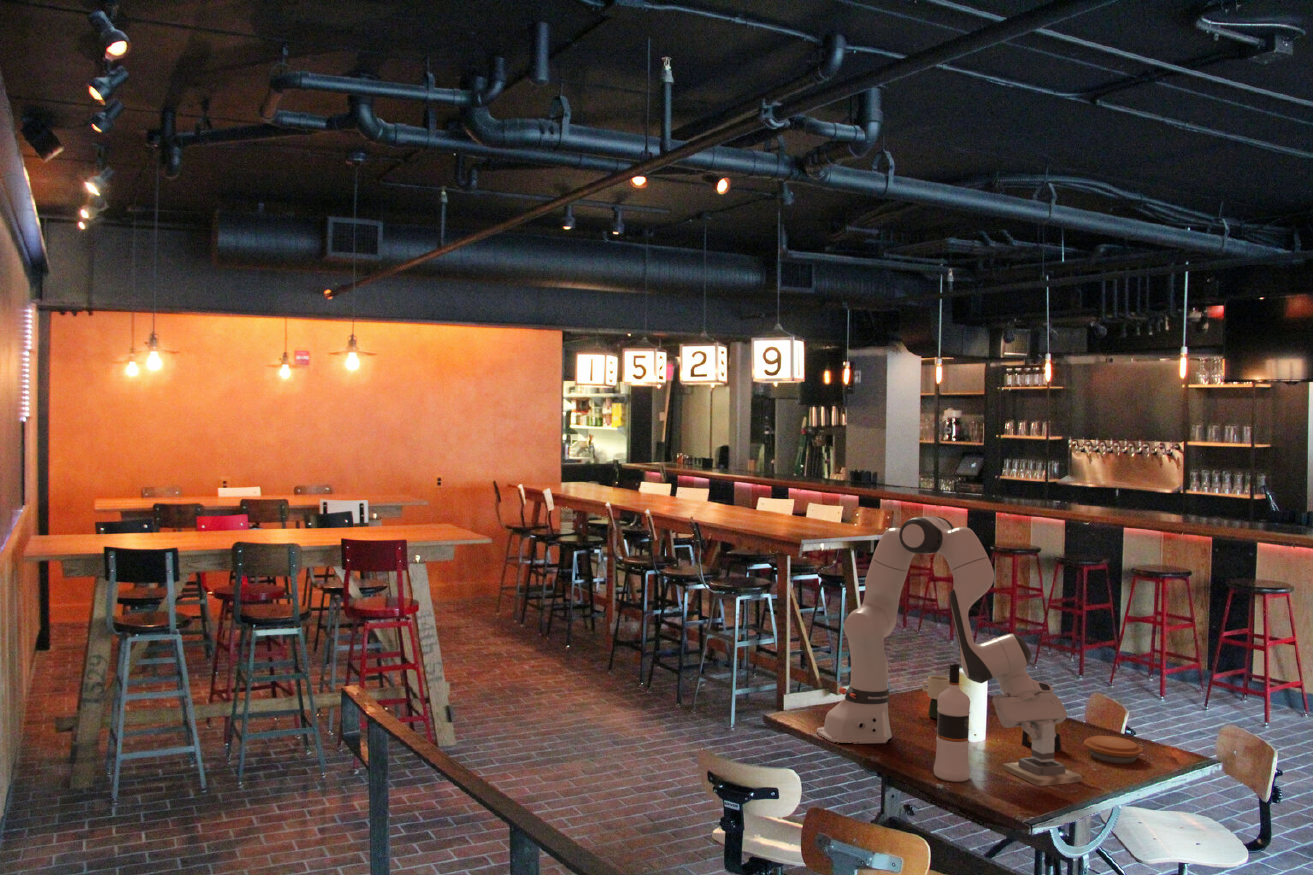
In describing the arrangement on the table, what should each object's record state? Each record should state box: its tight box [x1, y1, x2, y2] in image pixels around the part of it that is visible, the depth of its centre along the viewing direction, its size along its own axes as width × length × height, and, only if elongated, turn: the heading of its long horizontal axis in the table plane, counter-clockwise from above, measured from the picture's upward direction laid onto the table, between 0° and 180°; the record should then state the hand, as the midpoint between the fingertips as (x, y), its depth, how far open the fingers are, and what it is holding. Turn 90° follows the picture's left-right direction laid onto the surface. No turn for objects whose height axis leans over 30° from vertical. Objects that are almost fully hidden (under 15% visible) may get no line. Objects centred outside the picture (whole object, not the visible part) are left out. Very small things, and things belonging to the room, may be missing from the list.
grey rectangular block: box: [1030, 720, 1055, 762], centre depth 267 cm, size 4×4×10 cm
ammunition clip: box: [1021, 723, 1062, 752], centre depth 293 cm, size 11×2×12 cm, turn 58°
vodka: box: [933, 662, 971, 783], centre depth 264 cm, size 9×9×30 cm
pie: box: [1083, 735, 1144, 765], centre depth 285 cm, size 16×16×5 cm
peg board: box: [1002, 756, 1083, 787], centre depth 267 cm, size 14×14×4 cm
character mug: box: [921, 675, 949, 720], centre depth 322 cm, size 11×7×13 cm, turn 57°
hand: (1044, 738), depth 267 cm, fingers closed on grey rectangular block, 4 cm apart
